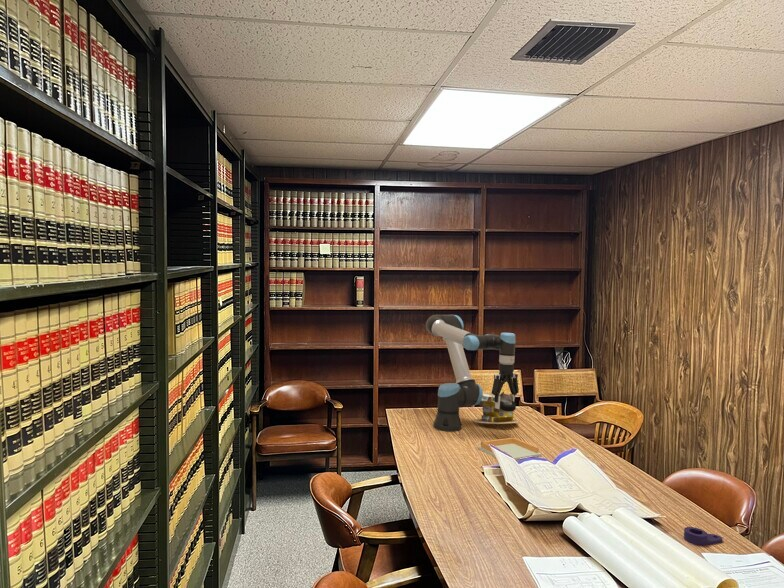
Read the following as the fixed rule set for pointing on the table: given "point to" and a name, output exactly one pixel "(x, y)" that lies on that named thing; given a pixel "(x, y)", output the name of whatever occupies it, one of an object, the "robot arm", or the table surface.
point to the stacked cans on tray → (494, 412)
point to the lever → (700, 537)
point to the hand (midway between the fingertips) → (504, 407)
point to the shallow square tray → (511, 447)
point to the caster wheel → (507, 402)
